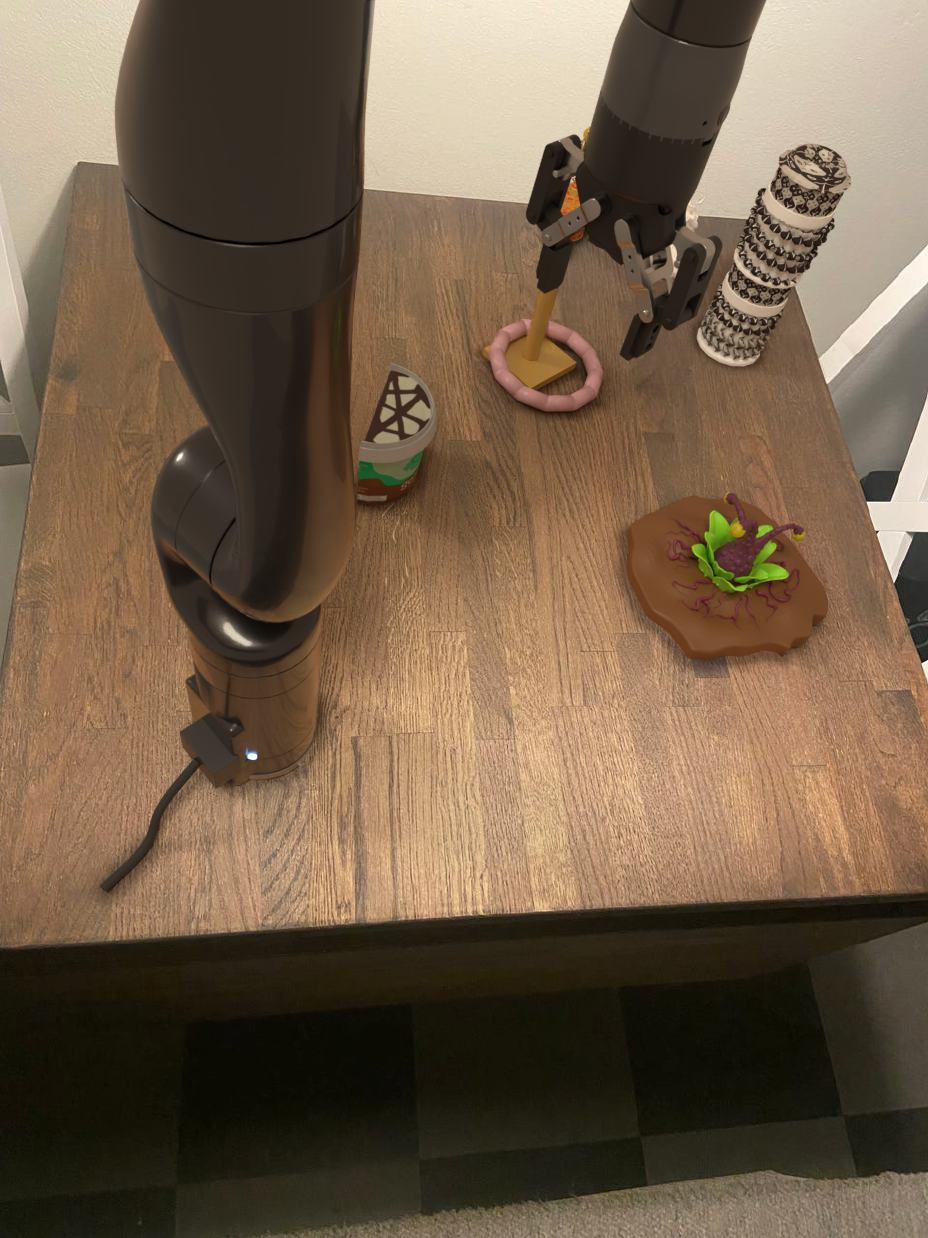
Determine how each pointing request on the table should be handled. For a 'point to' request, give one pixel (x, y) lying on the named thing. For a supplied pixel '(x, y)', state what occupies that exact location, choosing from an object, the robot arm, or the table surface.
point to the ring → (532, 396)
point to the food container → (395, 439)
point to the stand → (537, 349)
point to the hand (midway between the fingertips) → (589, 320)
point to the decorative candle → (774, 252)
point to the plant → (723, 578)
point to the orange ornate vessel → (574, 194)
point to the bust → (690, 224)
